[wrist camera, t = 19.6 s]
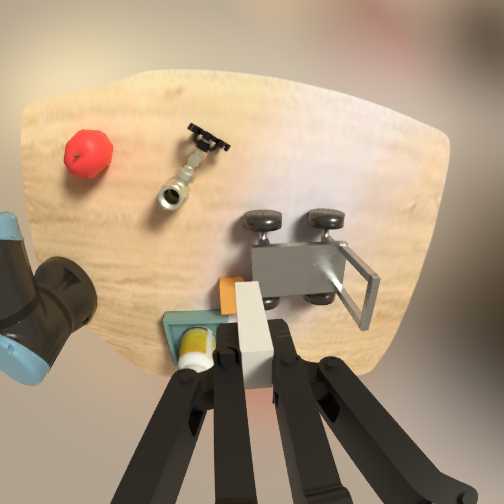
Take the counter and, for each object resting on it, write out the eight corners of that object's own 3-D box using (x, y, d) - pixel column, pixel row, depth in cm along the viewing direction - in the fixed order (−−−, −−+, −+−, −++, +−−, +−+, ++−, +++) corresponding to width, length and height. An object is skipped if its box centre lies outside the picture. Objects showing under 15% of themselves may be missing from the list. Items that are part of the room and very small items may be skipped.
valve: (190, 211, 42) (230, 145, 39) (183, 223, 36) (231, 145, 33) (154, 191, 40) (193, 124, 37) (142, 199, 34) (187, 120, 31)
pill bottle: (176, 330, 50) (167, 373, 39) (206, 319, 49) (202, 363, 38) (193, 352, 52) (188, 396, 41) (221, 343, 52) (222, 387, 41)
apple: (114, 122, 35) (92, 119, 28) (123, 169, 38) (102, 175, 31) (74, 137, 35) (48, 139, 28) (83, 181, 38) (58, 191, 31)
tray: (176, 356, 53) (174, 365, 50) (165, 311, 48) (162, 320, 46) (231, 354, 54) (231, 364, 51) (227, 309, 49) (227, 319, 47)
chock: (221, 301, 49) (221, 314, 45) (219, 277, 47) (219, 289, 43) (244, 300, 49) (245, 313, 45) (243, 276, 47) (244, 287, 43)
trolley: (245, 293, 48) (254, 365, 32) (242, 210, 43) (253, 254, 26) (328, 287, 50) (368, 349, 33) (336, 208, 44) (393, 247, 27)
